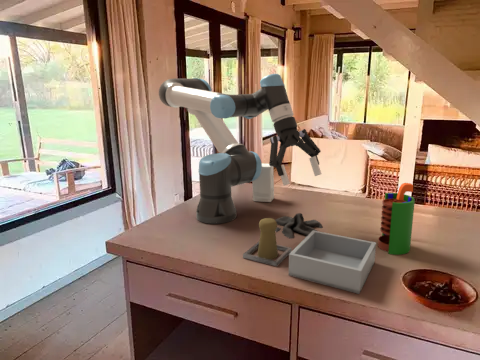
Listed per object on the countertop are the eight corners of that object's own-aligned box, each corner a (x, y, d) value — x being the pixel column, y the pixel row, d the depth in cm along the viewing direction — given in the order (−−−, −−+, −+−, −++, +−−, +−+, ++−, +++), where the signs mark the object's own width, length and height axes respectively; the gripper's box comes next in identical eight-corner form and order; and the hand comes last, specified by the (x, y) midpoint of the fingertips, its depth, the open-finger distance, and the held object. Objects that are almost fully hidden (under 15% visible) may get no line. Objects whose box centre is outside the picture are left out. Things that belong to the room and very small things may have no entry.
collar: (243, 257, 105) (242, 254, 104) (260, 244, 113) (260, 240, 113) (276, 266, 99) (276, 262, 99) (291, 251, 108) (291, 247, 108)
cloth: (272, 218, 137) (273, 202, 136) (323, 220, 133) (324, 205, 132) (265, 242, 116) (265, 224, 114) (324, 246, 112) (325, 228, 111)
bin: (288, 275, 95) (289, 254, 93) (312, 248, 110) (312, 230, 108) (359, 294, 86) (360, 271, 84) (374, 262, 101) (376, 242, 99)
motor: (371, 240, 115) (377, 179, 110) (399, 239, 115) (405, 178, 110) (387, 255, 105) (393, 188, 100) (416, 253, 106) (424, 187, 100)
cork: (280, 252, 108) (281, 217, 105) (274, 261, 102) (274, 224, 100) (261, 248, 110) (262, 214, 107) (254, 257, 105) (254, 221, 102)
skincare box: (274, 198, 159) (274, 163, 155) (270, 203, 153) (271, 166, 149) (255, 196, 161) (255, 162, 157) (251, 201, 155) (251, 165, 151)
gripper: (258, 121, 113) (278, 187, 112) (318, 110, 125) (337, 169, 123) (247, 129, 120) (266, 191, 118) (305, 117, 131) (323, 173, 130)
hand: (302, 180), depth 121 cm, fingers open, 13 cm apart
